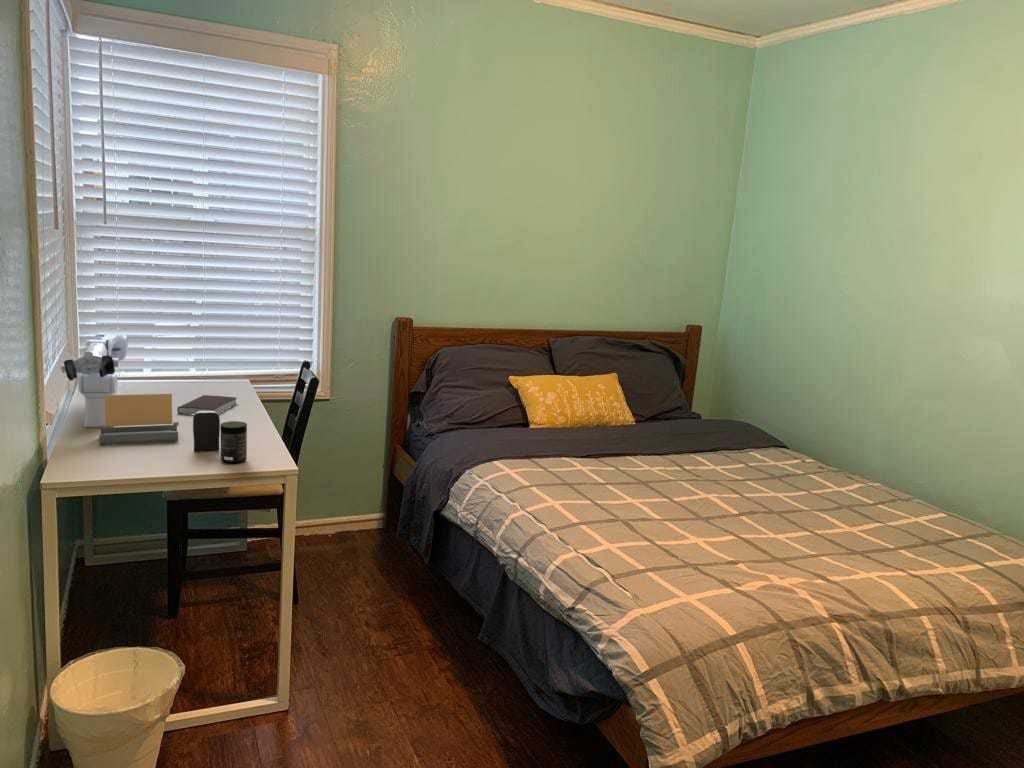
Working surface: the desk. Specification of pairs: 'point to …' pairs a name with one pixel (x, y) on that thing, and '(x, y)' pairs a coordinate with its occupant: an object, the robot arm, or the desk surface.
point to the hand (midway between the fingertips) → (85, 375)
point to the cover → (138, 409)
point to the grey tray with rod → (138, 434)
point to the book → (207, 404)
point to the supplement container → (233, 442)
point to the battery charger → (206, 431)
